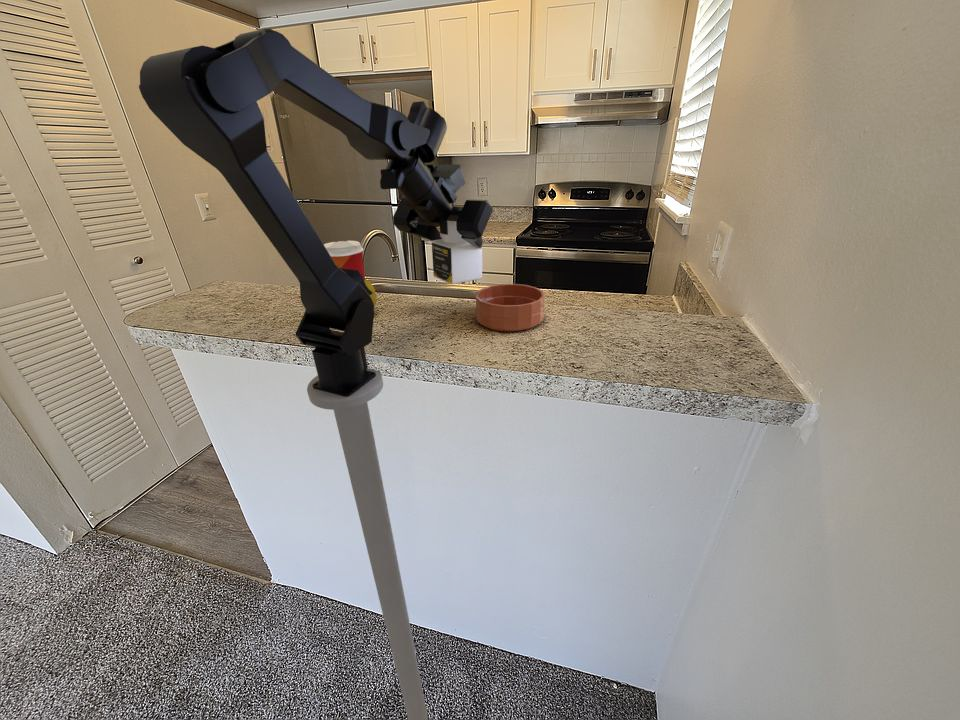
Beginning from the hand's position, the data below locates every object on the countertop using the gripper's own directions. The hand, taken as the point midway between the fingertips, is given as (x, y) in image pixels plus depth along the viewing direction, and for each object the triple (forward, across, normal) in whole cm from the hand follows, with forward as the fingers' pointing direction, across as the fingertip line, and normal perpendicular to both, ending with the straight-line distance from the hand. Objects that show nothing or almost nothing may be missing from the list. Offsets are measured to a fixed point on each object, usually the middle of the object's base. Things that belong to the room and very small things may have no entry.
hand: (461, 244), depth 78 cm
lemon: (0, +15, +19) cm, 24 cm away
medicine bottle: (+4, 0, +6) cm, 7 cm away
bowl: (+8, -12, +10) cm, 17 cm away
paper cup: (-7, +16, +15) cm, 23 cm away
